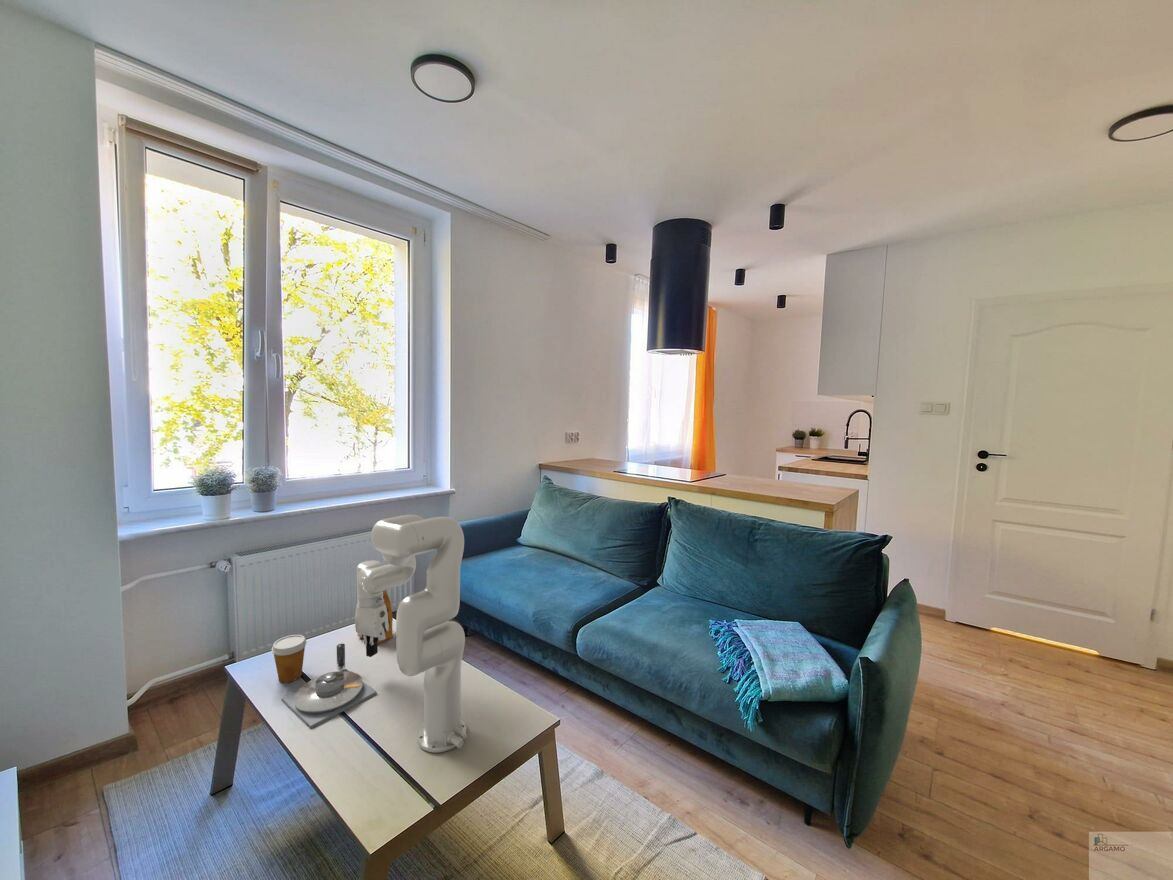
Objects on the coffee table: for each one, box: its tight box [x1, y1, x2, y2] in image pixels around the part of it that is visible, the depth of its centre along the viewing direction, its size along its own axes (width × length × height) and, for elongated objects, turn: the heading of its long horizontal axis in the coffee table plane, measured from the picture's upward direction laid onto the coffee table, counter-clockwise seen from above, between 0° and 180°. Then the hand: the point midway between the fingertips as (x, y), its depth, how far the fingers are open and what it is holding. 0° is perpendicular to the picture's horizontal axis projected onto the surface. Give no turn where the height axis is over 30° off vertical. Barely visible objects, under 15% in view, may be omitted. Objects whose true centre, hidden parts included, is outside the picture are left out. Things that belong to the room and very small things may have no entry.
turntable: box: [295, 643, 363, 714], centre depth 142 cm, size 24×18×8 cm
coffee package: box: [356, 590, 394, 645], centre depth 173 cm, size 10×12×22 cm
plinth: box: [280, 668, 377, 729], centre depth 140 cm, size 19×19×1 cm
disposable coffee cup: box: [271, 634, 307, 683], centre depth 148 cm, size 10×10×12 cm
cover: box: [316, 671, 344, 698], centre depth 139 cm, size 8×8×4 cm
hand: (372, 654), depth 150 cm, fingers closed
